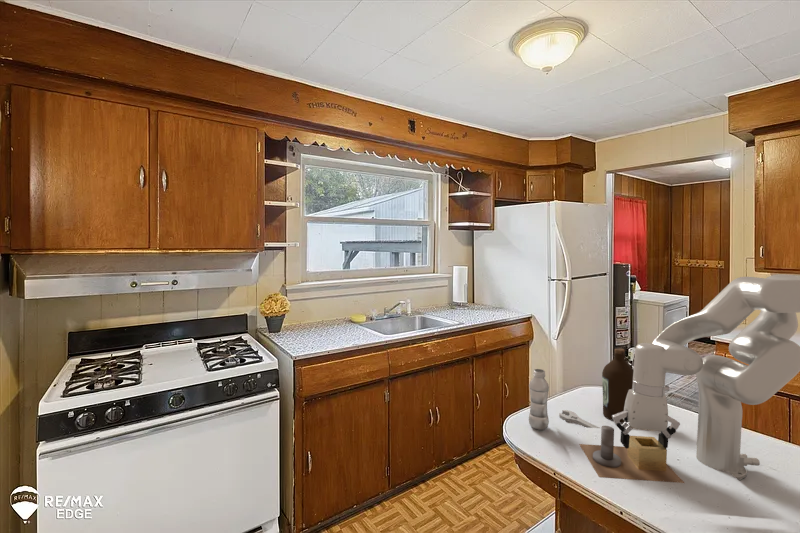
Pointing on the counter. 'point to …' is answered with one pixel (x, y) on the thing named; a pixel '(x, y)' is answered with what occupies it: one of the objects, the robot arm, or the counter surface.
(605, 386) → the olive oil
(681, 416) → the counter surface
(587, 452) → the shaft board
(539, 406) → the plastic bottle
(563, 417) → the adjustable wrench
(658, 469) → the brass collar
